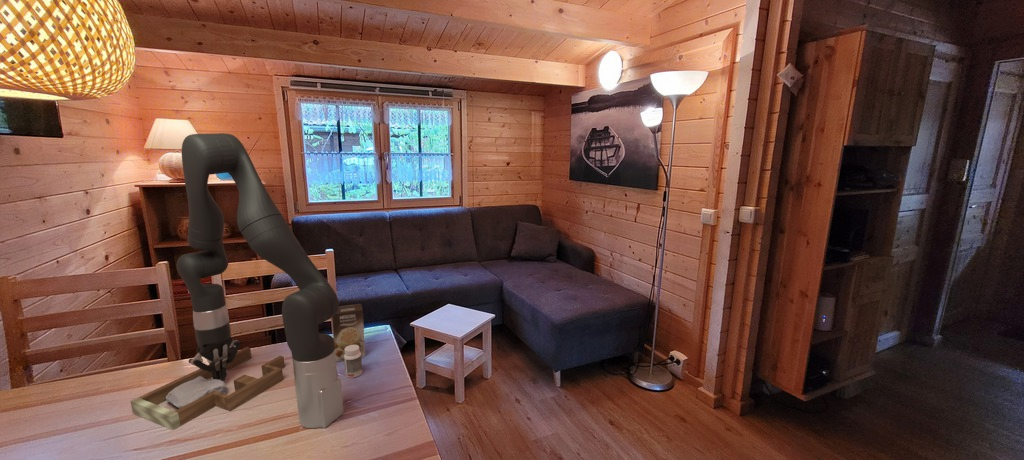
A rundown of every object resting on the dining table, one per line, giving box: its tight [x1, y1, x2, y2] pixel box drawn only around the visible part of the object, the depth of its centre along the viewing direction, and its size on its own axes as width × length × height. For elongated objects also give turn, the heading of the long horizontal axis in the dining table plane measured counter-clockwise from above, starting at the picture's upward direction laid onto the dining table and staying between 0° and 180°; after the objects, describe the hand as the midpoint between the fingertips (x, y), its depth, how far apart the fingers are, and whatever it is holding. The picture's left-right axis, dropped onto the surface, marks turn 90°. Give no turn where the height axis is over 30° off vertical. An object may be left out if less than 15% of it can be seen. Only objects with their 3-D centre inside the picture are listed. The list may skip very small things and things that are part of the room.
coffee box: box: [331, 303, 366, 363], centre depth 125 cm, size 9×6×16 cm
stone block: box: [166, 376, 228, 409], centre depth 104 cm, size 12×5×10 cm
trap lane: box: [130, 346, 286, 431], centre depth 107 cm, size 22×30×4 cm
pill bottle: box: [343, 345, 363, 379], centre depth 115 cm, size 5×5×8 cm
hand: (220, 380), depth 110 cm, fingers closed
